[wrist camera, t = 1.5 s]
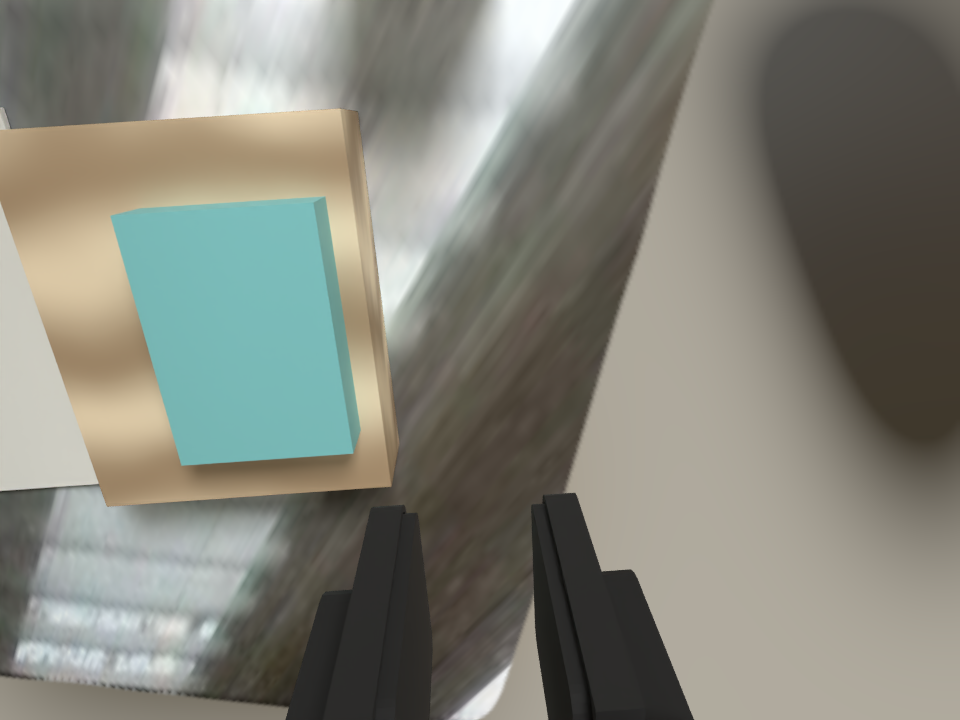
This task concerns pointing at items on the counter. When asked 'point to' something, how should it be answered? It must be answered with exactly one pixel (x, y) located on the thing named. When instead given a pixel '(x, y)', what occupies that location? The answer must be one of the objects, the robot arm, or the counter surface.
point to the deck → (111, 307)
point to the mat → (32, 388)
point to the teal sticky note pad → (244, 327)
